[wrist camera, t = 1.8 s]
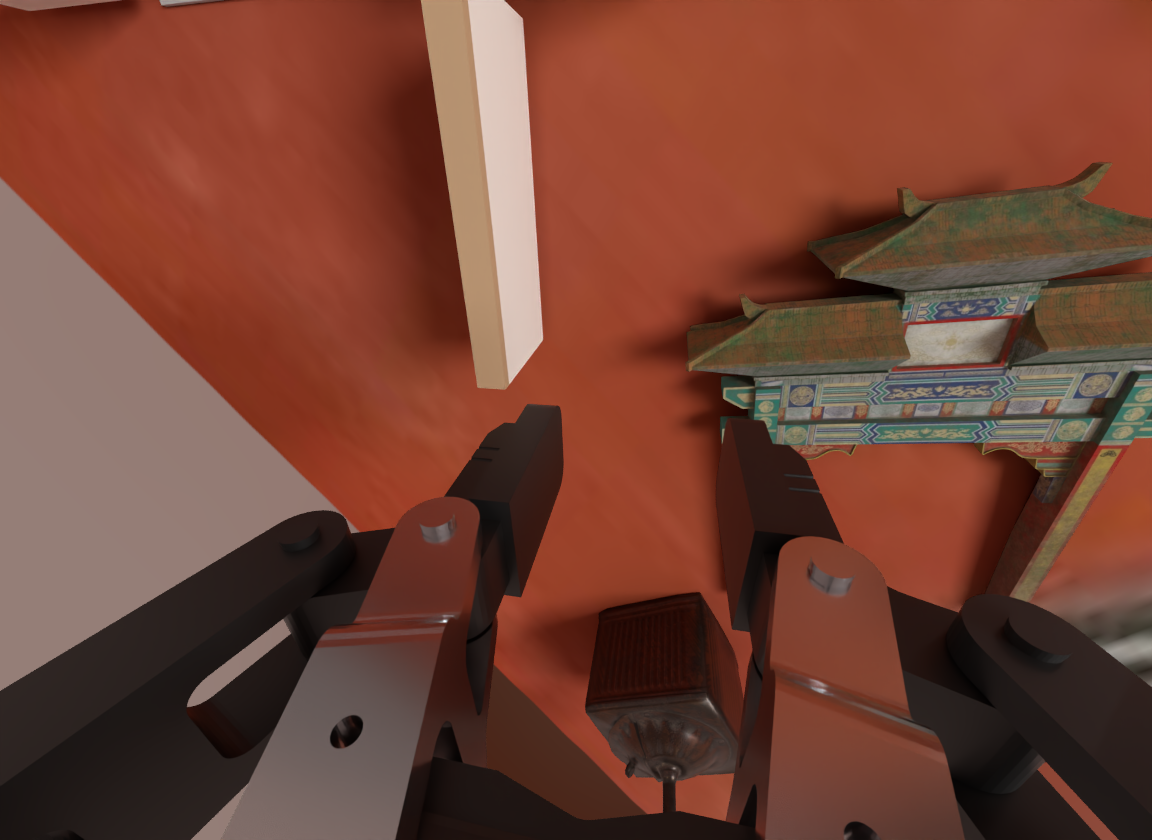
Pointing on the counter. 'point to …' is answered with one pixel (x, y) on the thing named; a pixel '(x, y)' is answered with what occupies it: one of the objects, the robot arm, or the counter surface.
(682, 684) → the manual coffee grinder
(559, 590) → the counter surface
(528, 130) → the white flat block
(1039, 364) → the miniature gate
